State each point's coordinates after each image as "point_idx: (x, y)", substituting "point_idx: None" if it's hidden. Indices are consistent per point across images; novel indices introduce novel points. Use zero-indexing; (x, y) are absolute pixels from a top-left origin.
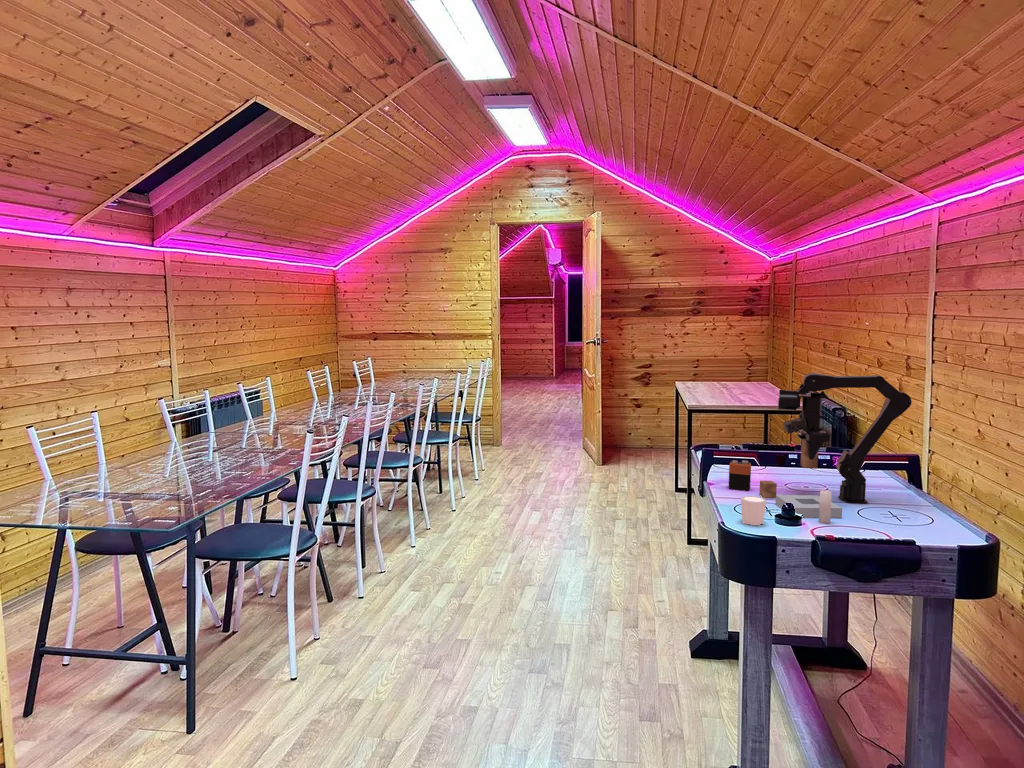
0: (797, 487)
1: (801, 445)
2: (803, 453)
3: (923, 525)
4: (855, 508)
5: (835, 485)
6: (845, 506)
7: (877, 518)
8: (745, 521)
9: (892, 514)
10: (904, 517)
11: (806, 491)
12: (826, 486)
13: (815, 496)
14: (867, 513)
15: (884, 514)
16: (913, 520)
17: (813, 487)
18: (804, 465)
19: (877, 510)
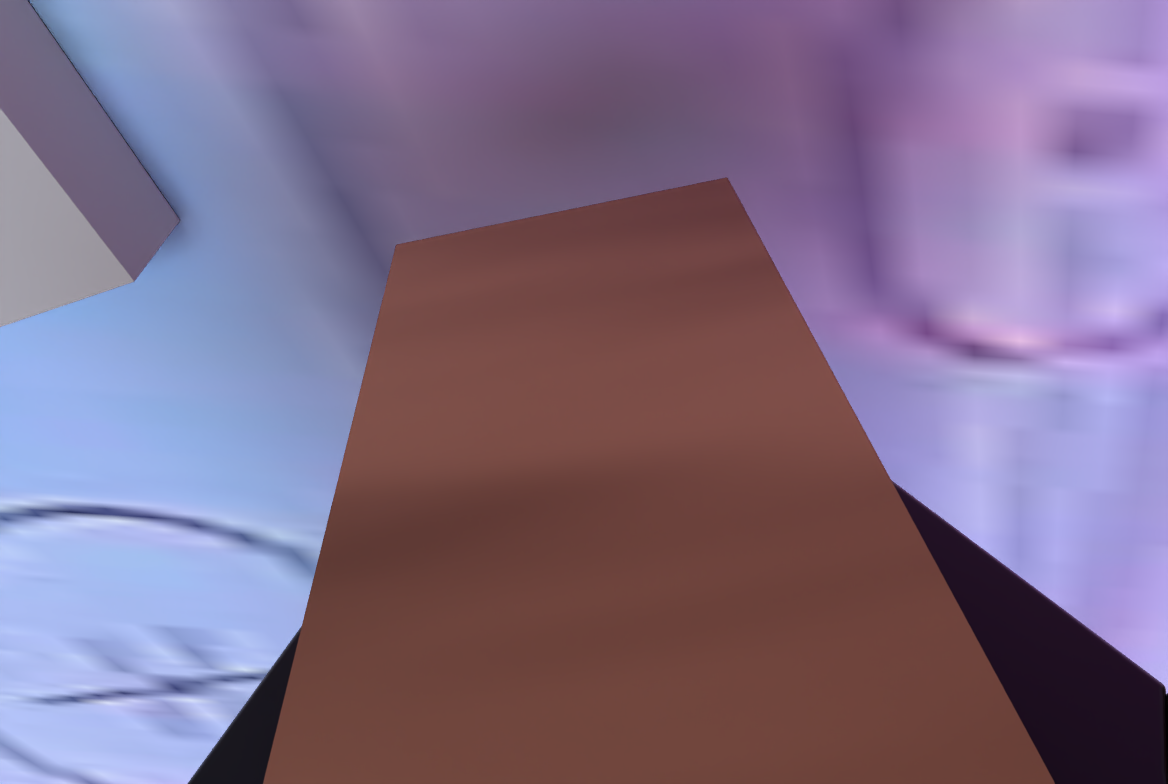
0: (1073, 12)
1: (1012, 730)
2: (523, 498)
3: (42, 772)
4: (248, 508)
5: (1140, 435)
6: (274, 446)
7: (4, 607)
8: None
9: (222, 681)
10: (184, 721)
11: (844, 121)
12: (1104, 359)
13: (7, 215)
14: (125, 566)
15: (183, 647)
16: (136, 747)
17: (1064, 226)
18: (390, 286)
19: (286, 623)
